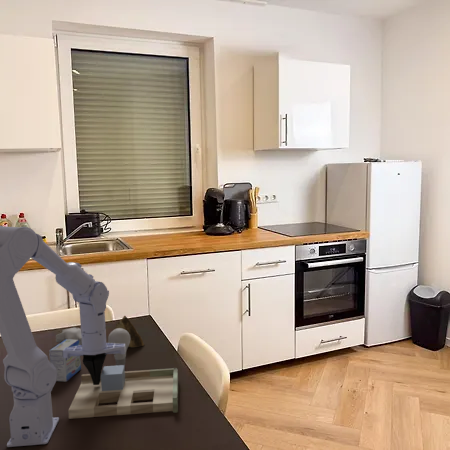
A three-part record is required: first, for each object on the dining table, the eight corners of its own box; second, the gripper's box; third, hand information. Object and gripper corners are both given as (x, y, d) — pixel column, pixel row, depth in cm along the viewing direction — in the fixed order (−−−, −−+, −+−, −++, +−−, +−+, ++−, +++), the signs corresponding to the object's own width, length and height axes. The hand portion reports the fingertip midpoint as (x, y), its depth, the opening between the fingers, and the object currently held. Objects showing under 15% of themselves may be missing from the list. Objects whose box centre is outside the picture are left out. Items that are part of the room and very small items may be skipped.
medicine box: (66, 382, 120) (64, 350, 119) (51, 381, 120) (48, 349, 119) (81, 369, 127) (79, 339, 126) (67, 368, 128) (64, 338, 127)
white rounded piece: (82, 323, 154) (93, 330, 141) (83, 338, 154) (94, 347, 142) (52, 328, 150) (61, 337, 137) (54, 344, 150) (63, 354, 137)
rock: (103, 334, 148) (108, 340, 139) (118, 310, 150) (123, 315, 141) (132, 349, 151) (138, 356, 142) (145, 326, 153) (153, 331, 144)
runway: (177, 412, 103) (177, 397, 103) (68, 420, 101) (67, 405, 100) (178, 380, 118) (177, 368, 118) (83, 387, 116) (82, 374, 116)
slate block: (122, 389, 110) (122, 373, 110) (101, 391, 110) (100, 375, 109) (125, 380, 115) (124, 365, 115) (105, 381, 115) (104, 366, 114)
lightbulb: (109, 372, 124) (107, 333, 123) (109, 363, 130) (107, 326, 129) (132, 369, 126) (130, 331, 125) (131, 361, 132) (129, 324, 130)
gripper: (125, 322, 115) (128, 373, 117) (66, 325, 114) (70, 377, 115) (122, 331, 108) (125, 386, 110) (59, 335, 107) (63, 391, 108)
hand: (96, 383), depth 112 cm, fingers closed
